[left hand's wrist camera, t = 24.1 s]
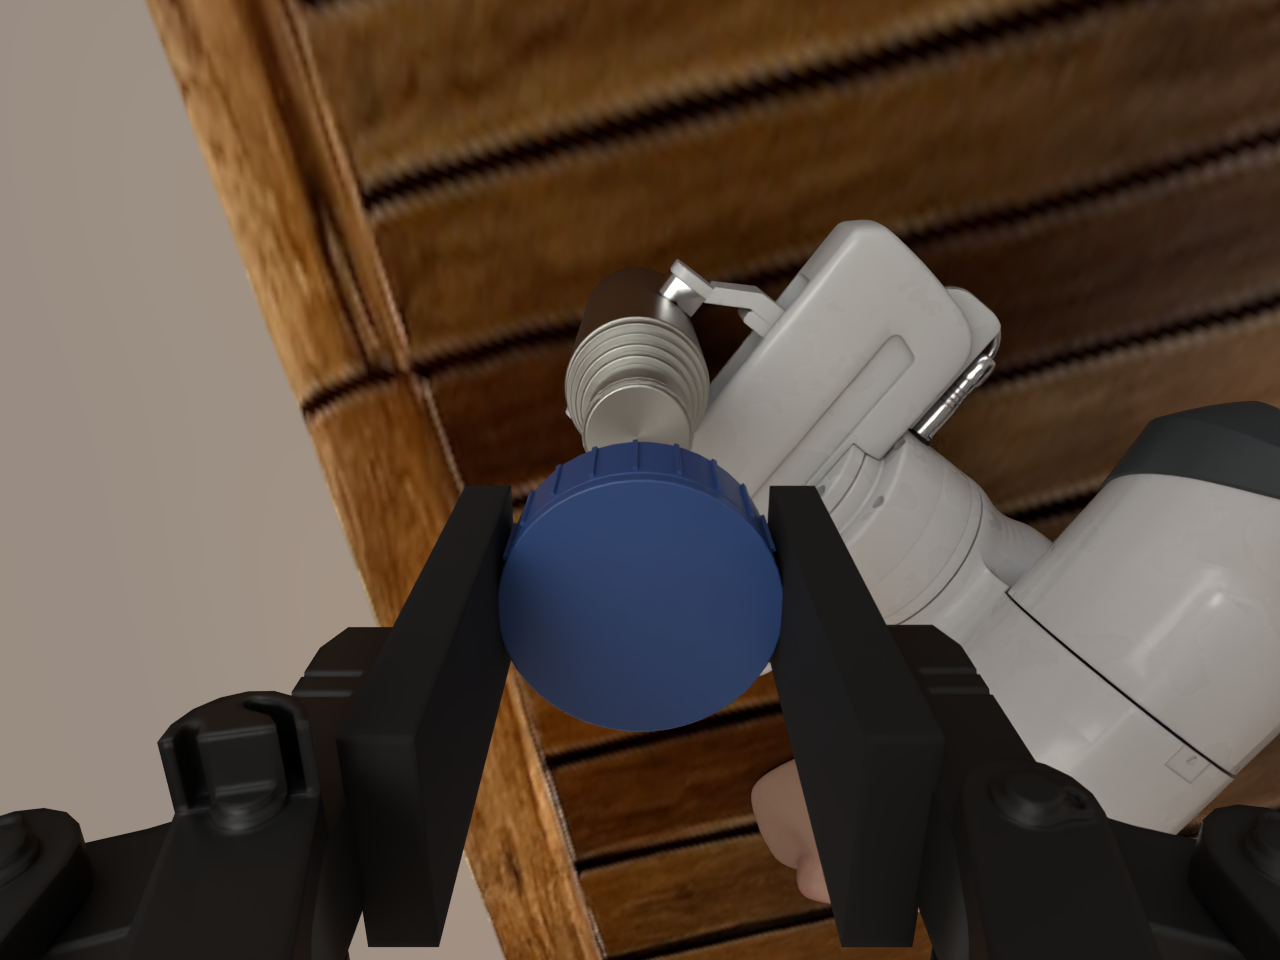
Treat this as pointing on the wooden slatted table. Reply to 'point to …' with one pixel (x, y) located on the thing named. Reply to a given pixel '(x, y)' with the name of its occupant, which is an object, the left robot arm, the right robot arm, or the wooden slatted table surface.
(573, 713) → the cap
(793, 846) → the anatomical model
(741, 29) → the wooden slatted table surface
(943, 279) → the wooden slatted table surface
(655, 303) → the bottle
